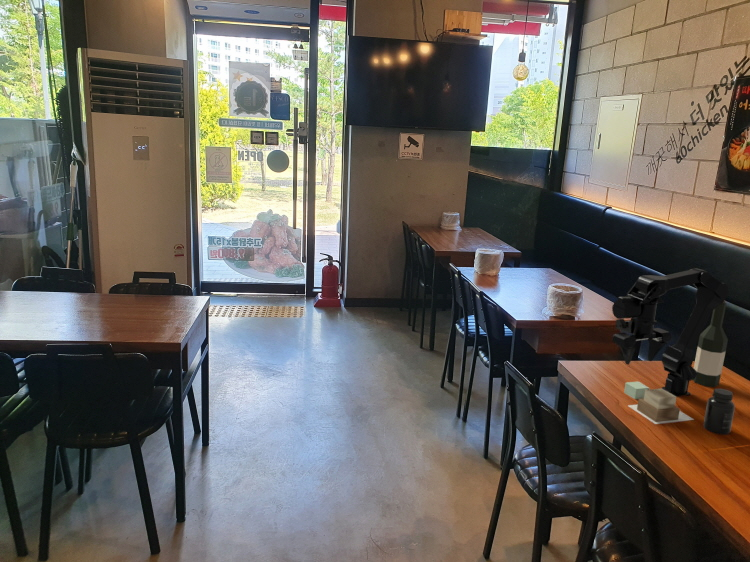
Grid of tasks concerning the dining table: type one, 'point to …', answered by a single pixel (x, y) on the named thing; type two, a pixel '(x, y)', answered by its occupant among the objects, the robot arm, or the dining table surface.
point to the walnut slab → (657, 412)
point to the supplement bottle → (719, 412)
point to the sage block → (635, 389)
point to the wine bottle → (711, 350)
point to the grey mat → (681, 418)
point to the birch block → (660, 398)
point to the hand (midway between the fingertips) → (638, 362)
